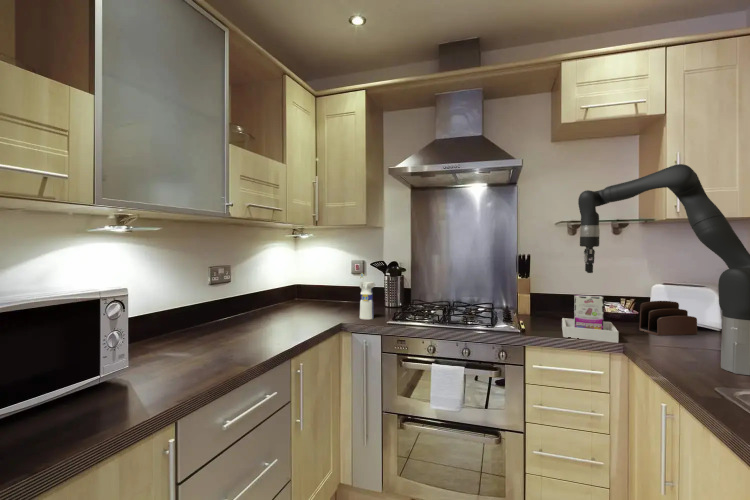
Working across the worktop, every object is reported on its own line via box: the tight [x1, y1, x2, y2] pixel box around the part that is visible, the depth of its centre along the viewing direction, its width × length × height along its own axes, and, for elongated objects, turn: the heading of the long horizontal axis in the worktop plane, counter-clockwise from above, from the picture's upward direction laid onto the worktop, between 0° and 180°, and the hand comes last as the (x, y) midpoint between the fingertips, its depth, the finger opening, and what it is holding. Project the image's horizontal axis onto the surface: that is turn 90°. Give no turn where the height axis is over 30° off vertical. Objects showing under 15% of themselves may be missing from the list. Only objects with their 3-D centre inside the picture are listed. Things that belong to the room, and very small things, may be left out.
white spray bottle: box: [359, 272, 376, 320], centre depth 194 cm, size 8×9×25 cm
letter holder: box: [638, 300, 698, 336], centre depth 166 cm, size 10×20×14 cm, turn 97°
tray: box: [561, 317, 619, 344], centre depth 161 cm, size 20×20×4 cm
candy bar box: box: [573, 294, 605, 330], centre depth 161 cm, size 11×5×16 cm, turn 65°
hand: (588, 272), depth 161 cm, fingers open, 8 cm apart
